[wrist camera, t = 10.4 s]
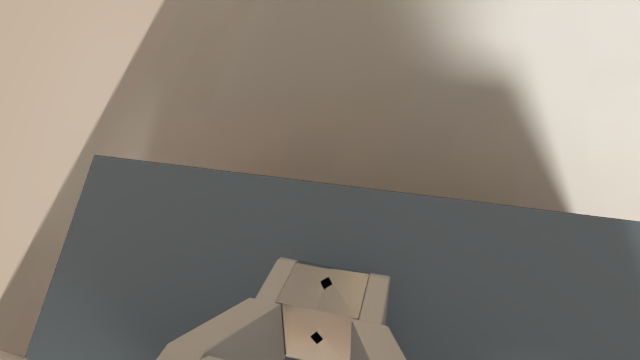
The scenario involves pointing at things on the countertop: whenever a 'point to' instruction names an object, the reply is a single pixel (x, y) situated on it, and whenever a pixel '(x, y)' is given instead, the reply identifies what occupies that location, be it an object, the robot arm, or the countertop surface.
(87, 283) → the lid
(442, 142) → the countertop surface
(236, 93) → the countertop surface
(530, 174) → the countertop surface
